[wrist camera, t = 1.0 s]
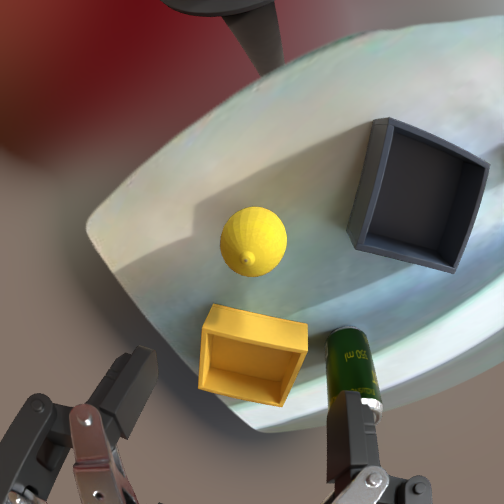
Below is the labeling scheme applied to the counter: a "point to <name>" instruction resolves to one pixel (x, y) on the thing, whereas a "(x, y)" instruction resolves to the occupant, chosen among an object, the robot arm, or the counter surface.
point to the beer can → (352, 368)
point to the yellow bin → (250, 355)
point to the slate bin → (416, 197)
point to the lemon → (253, 241)
